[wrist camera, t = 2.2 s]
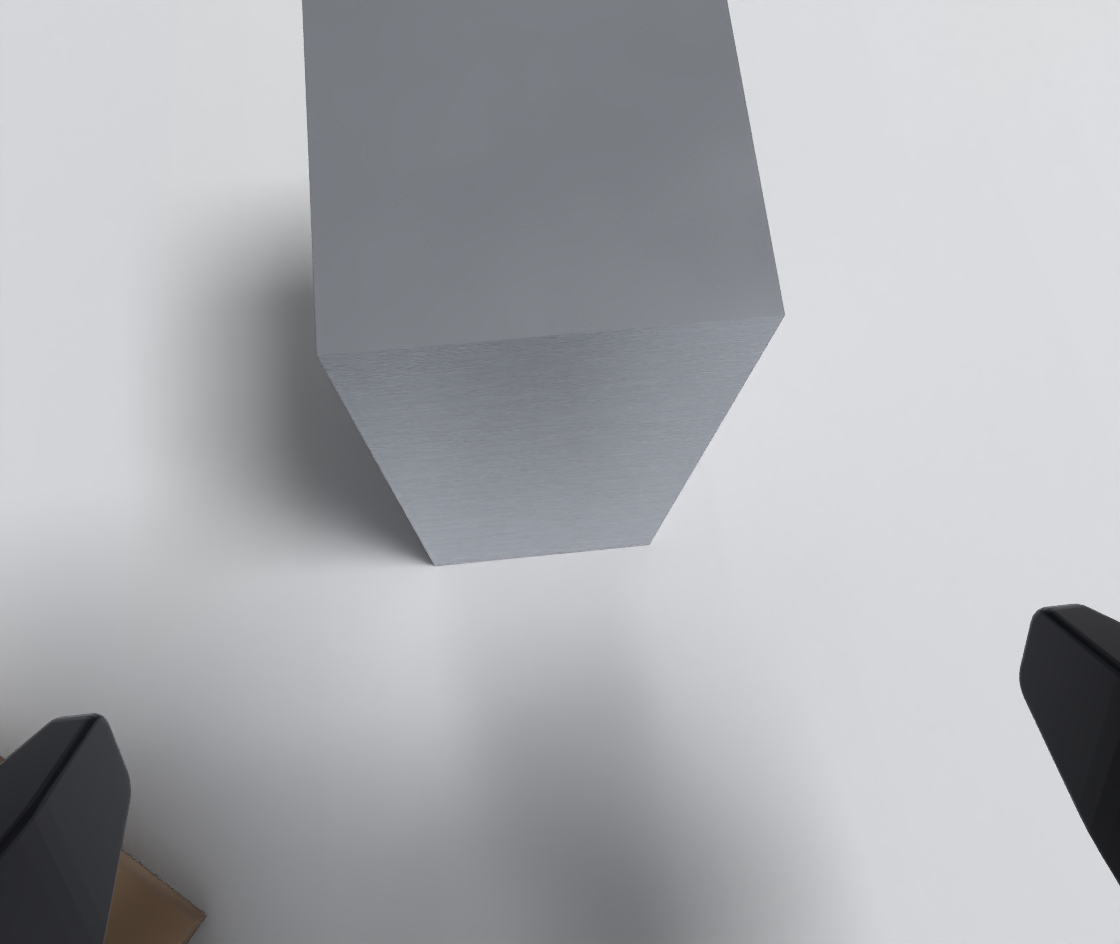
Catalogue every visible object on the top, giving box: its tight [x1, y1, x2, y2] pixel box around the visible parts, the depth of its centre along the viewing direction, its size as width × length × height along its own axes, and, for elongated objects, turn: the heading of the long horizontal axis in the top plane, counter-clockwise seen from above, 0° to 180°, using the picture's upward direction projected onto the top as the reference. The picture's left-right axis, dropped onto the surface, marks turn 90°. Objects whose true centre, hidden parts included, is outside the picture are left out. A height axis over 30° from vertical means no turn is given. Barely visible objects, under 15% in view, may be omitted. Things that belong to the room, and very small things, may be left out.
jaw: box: [302, 0, 785, 566], centre depth 17 cm, size 5×6×12 cm
